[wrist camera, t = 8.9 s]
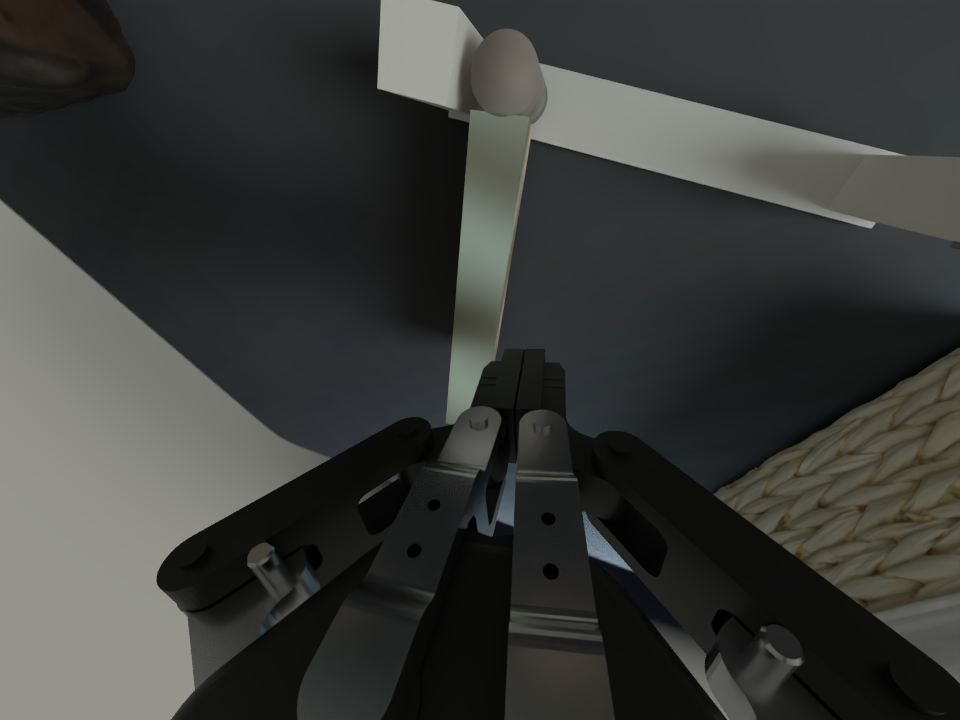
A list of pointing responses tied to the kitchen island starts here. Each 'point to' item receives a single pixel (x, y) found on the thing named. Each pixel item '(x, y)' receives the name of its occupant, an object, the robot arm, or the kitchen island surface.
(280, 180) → the kitchen island surface
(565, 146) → the gate posts
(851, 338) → the kitchen island surface
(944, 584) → the storage basket
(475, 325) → the panel
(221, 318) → the kitchen island surface
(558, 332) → the kitchen island surface
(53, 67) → the owl
